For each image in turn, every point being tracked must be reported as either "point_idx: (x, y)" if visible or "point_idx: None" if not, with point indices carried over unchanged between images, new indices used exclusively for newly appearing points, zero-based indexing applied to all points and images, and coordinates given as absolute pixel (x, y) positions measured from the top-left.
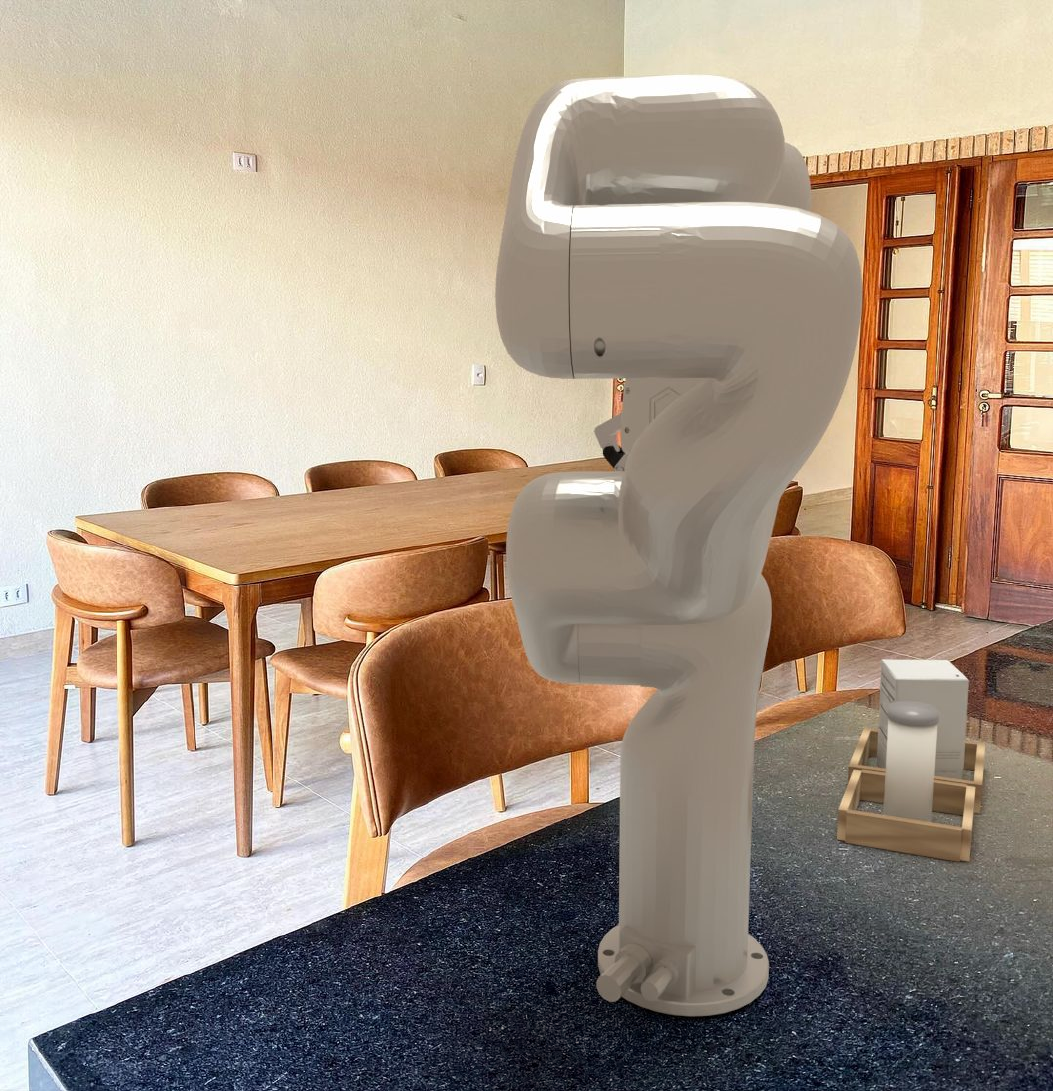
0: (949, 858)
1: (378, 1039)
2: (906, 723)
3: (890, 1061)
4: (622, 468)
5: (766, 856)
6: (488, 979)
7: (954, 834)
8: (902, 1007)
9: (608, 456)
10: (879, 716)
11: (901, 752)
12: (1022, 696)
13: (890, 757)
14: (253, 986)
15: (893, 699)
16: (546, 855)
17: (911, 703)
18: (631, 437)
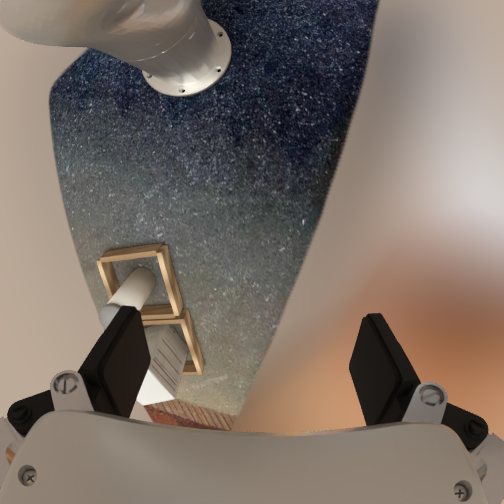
0: (111, 250)
1: None
2: (112, 304)
3: (89, 58)
4: (426, 401)
5: (193, 200)
6: (271, 3)
7: (103, 256)
8: (91, 95)
9: (470, 420)
10: (182, 369)
11: (123, 293)
12: None
13: (133, 294)
14: None
15: (154, 360)
16: (320, 129)
17: None
18: (439, 474)
